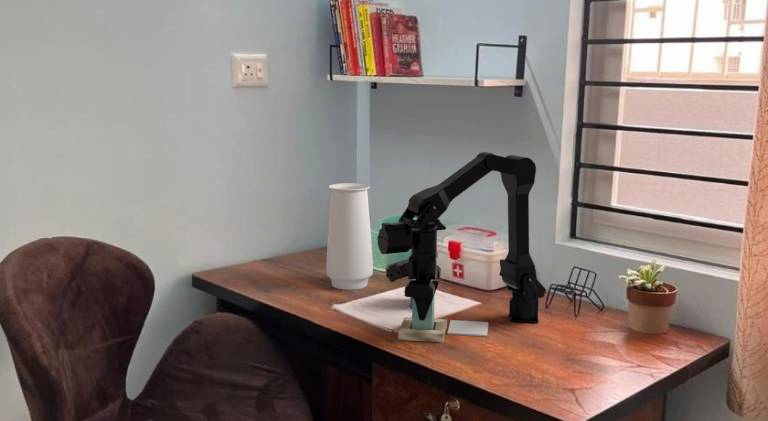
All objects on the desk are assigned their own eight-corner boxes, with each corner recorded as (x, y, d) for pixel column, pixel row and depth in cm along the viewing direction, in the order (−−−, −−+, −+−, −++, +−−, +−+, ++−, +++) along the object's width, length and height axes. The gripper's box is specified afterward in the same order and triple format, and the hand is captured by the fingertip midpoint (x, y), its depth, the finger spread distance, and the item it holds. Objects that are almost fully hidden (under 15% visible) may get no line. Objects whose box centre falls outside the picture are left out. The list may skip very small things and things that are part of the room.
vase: (368, 292, 204) (368, 190, 199) (321, 290, 206) (320, 189, 201) (376, 279, 217) (376, 183, 211) (332, 277, 219) (331, 182, 213)
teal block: (433, 326, 174) (434, 292, 172) (431, 332, 169) (432, 298, 168) (414, 324, 175) (414, 291, 173) (411, 331, 170) (412, 297, 169)
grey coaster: (488, 323, 179) (488, 322, 179) (487, 336, 170) (487, 335, 170) (450, 321, 181) (450, 320, 180) (447, 334, 172) (447, 332, 172)
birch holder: (446, 327, 176) (447, 319, 176) (442, 342, 167) (443, 333, 166) (404, 325, 178) (404, 317, 178) (398, 339, 168) (398, 331, 168)
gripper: (394, 239, 179) (394, 302, 182) (381, 258, 161) (381, 328, 164) (441, 241, 177) (440, 305, 180) (433, 260, 159) (432, 331, 162)
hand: (423, 316), depth 172 cm, fingers closed on teal block, 4 cm apart
